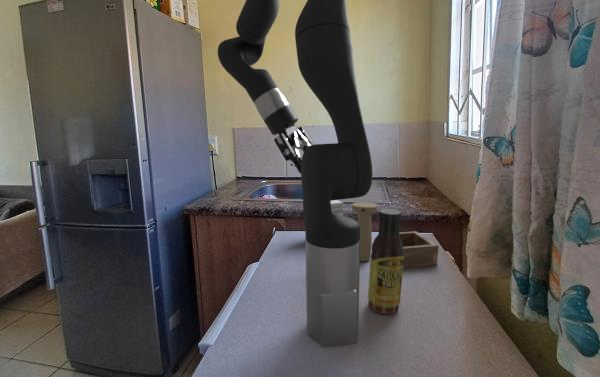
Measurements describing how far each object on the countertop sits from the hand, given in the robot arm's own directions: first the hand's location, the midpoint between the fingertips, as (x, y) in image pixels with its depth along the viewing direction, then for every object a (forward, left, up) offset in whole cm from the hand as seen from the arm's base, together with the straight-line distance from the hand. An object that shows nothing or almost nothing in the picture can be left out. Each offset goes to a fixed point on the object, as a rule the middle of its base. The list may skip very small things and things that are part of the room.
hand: (310, 167), depth 86 cm
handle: (-2, -14, -25) cm, 29 cm away
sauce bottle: (-25, -10, -25) cm, 37 cm away
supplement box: (+14, -8, -25) cm, 30 cm away
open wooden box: (-3, -25, -25) cm, 36 cm away
